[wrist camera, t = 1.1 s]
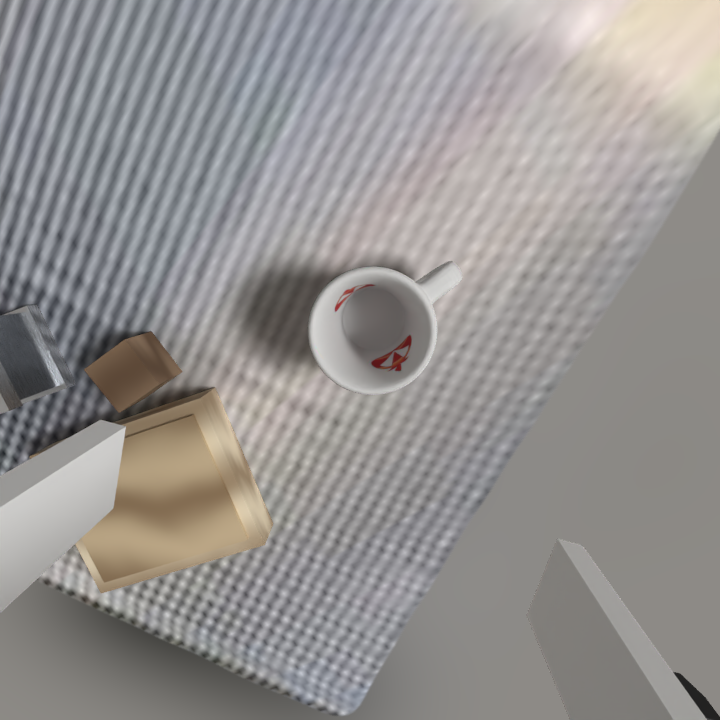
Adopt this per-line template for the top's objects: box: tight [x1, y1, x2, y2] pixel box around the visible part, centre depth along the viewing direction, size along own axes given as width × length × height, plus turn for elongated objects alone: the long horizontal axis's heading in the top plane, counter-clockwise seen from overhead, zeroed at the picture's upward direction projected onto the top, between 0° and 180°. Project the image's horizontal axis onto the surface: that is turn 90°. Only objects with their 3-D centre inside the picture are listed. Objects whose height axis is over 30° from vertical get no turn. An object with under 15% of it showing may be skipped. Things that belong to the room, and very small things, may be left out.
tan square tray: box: [29, 388, 273, 593], centre depth 37 cm, size 13×15×3 cm
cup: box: [308, 261, 462, 395], centre depth 31 cm, size 11×8×8 cm
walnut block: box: [84, 332, 182, 413], centre depth 35 cm, size 4×4×4 cm
